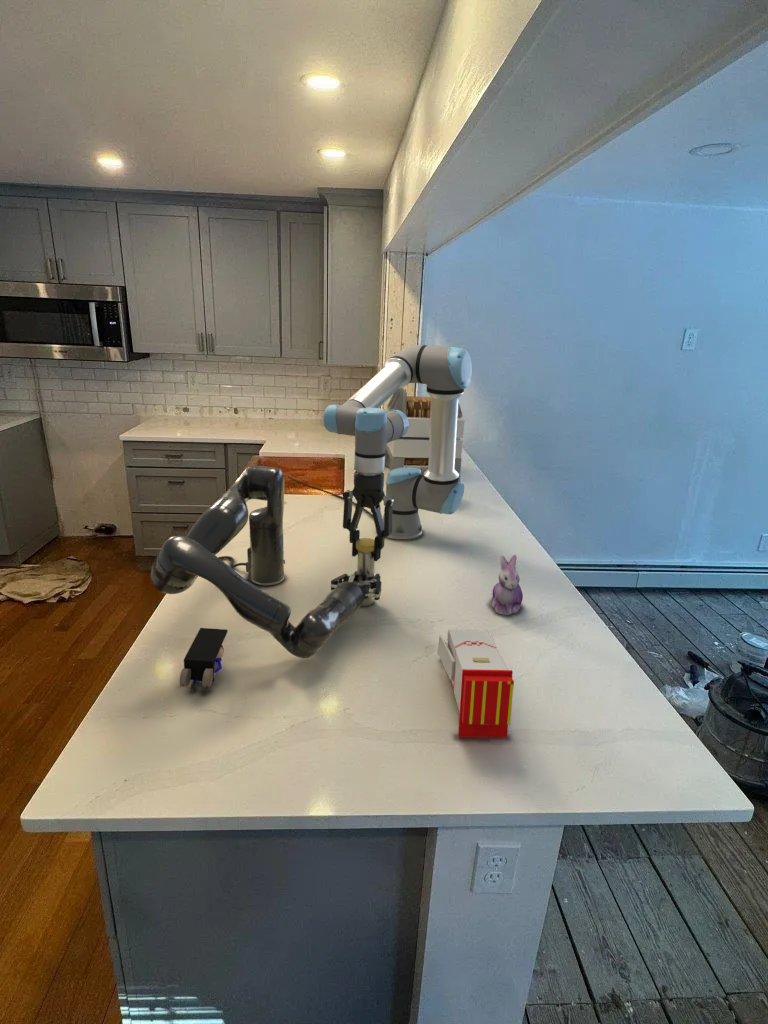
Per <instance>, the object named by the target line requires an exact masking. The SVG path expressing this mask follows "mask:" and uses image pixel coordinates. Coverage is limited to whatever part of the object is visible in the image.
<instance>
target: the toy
mask: <svg viewBox="0 0 768 1024" xmlns="http://www.w3.org/2000/svg"><path fill="white" fill-rule="evenodd" d="M446 640H447V643H446V641H445V639H444V636H443V635H442V634H439V637H438V646H437V656H438V657H439V659H440V661H441V663H442V666H443V668H444V670H445V672H446V674H447V677H448V679H449V681H450V684H451V687H452V690H453V693H454V697H455V701H456V705H457V708H458V711H459V714H458V715H459V716H458V730H457V731H458V732H457V737H458V738H508V731H509V726H510V725H511V717H512V707H513V697H514V696H513V695H514V684H515V680H514V679H513V673H514V671H513V670H512V669H508V667H507V665H506V662H505V661H504V659H503V658H502V655H501V653H500V651H499V649H498V647H497V643H496V639H495V637H494V635H493V634H491V632H490V631H489V629H467V628H466V629H465V628H463V629H461V628H460V629H459V628H448V630H447V639H446Z"/></svg>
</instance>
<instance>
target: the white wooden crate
mask: <svg viewBox="0 0 768 1024" xmlns="http://www.w3.org/2000/svg"><path fill="white" fill-rule="evenodd" d="M407 394H408V393H407V390H406V389H404V387H402V388H399V389H398V390H397V391H396V392H395V393H394V394H393V395H392V396H391V397H390V400H389V402H388V404H387V405H386V411H390V410H399V411H401V412H403V413H404V414H405V415H406V417H407V418H408V422H409V427H408V431H407V432H406V434H405V435H404V436H402V437H401V438H399V439H398V440H394V441H391V442H388V443H386V446H385V467H388V468H389V472H390V471H391V470H393V469H397V468H404V467H405V466H406V467H410V466H411V467H417V466H418V467H428V466H429V440H430V413H431V396H415V395H414V396H413V395H412V396H411V395H407ZM464 429H465V419H464V418H463V411H462V408H461V405H460V401H458V418H457V435H456V452H455V470H456V471H457V472H458V474H459V479H460V480H461V472H462V461H463V460H462V453H463V442H464V441H463V440H462V439H463V438H464V431H465V430H464Z"/></svg>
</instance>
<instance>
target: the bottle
mask: <svg viewBox="0 0 768 1024" xmlns="http://www.w3.org/2000/svg"><path fill="white" fill-rule="evenodd" d="M375 562H376V561H374V551H372V552H362V551H359V550H358V554H357V562H356V563H357V565H356V566H357V567H356V571H357V582H359V583H362V582H364V581H366V580H368V581H369V580H371V579H372V578H373V577H374V576H375V564H376V563H375ZM372 591H373V590H372ZM373 603H374V597H368V598H367V599H365V600H364V601H363V602H362V604H361V605H360V606H363V607H367V606H370V605H373Z"/></svg>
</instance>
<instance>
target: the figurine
mask: <svg viewBox="0 0 768 1024" xmlns="http://www.w3.org/2000/svg"><path fill="white" fill-rule="evenodd" d="M517 557H518V556H517V554H513V555H512V556H511V558H510V560H509V561H507V559H506V557H505V556H504V555H501V556H500V558H499V559H500V572H499V574H498V582H497V583H496V584H495V585H494V586H493V588H492V594H491V595H492V597H491V607H492V608H493V609H494V610H495V612H496V613H498V614H499V615H505V616H510V615H512V614H515V613H517V612H519V610H520V609H521V605H522V602H523V599H524V598H523V597H524V593H523V591H522V587H521V585H520V584H519V583H520V575H519V573H518V570H517V567H516V565H517V559H518V558H517Z"/></svg>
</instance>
